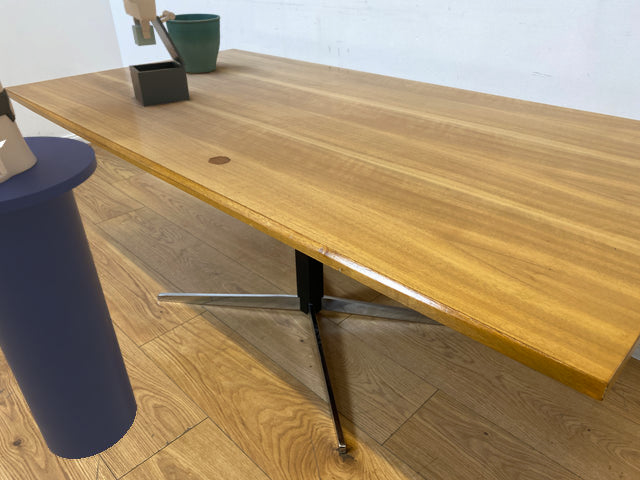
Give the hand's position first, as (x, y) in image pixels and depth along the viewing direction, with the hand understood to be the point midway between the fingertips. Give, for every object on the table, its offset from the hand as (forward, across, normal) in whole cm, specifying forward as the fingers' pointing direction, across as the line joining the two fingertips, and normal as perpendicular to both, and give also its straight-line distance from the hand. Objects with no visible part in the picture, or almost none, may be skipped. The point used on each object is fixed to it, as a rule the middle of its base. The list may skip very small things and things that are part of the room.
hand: (144, 36), depth 127 cm
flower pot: (+17, -31, +23) cm, 42 cm away
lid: (+1, 0, +5) cm, 5 cm away
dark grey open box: (+16, 0, +2) cm, 17 cm away
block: (+2, 0, 0) cm, 2 cm away
